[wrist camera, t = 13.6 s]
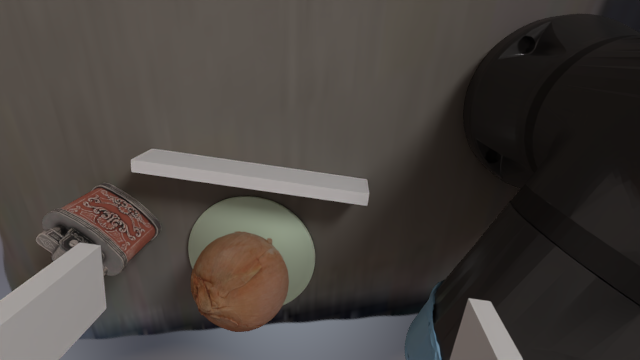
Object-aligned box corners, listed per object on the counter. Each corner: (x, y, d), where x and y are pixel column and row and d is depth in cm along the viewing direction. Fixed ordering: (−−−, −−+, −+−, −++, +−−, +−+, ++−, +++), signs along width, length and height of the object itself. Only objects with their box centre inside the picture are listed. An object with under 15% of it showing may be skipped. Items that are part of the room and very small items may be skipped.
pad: (323, 206, 39) (322, 208, 38) (307, 315, 44) (307, 318, 43) (190, 186, 39) (188, 188, 39) (189, 297, 44) (187, 300, 44)
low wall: (367, 179, 38) (369, 193, 34) (365, 190, 38) (367, 205, 34) (152, 148, 38) (130, 159, 34) (152, 159, 39) (131, 171, 35)
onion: (226, 246, 44) (152, 286, 36) (268, 201, 39) (192, 236, 31) (274, 312, 43) (208, 370, 35) (324, 275, 38) (261, 333, 29)
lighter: (89, 197, 41) (11, 243, 31) (105, 175, 40) (29, 216, 30) (151, 243, 42) (94, 300, 33) (167, 223, 41) (113, 276, 32)
